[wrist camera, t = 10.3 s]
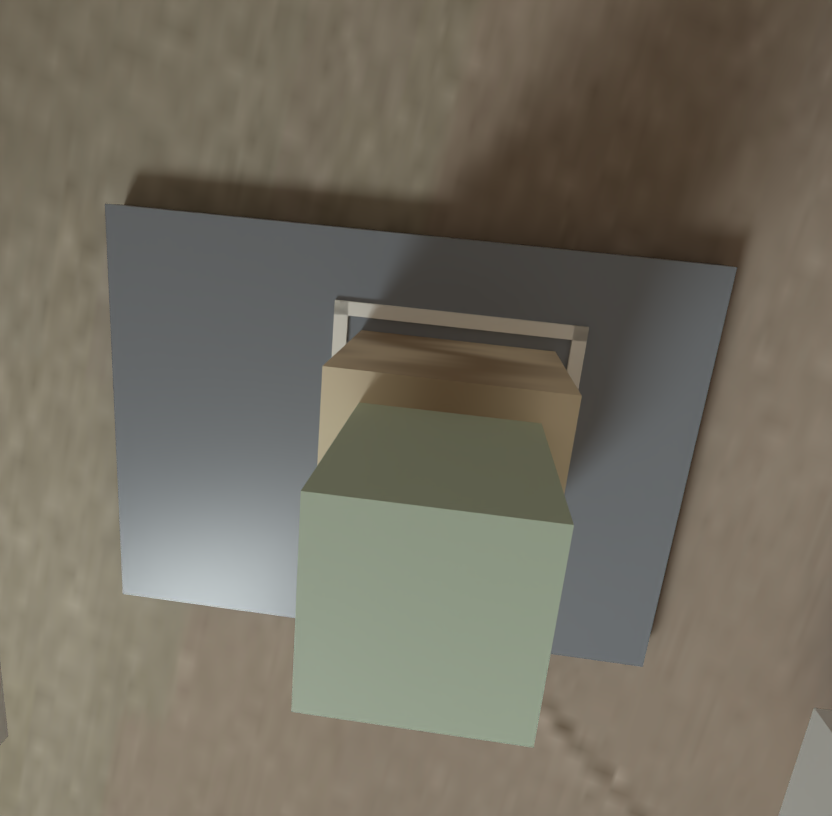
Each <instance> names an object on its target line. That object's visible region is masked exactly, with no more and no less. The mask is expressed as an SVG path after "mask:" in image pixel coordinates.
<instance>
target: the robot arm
mask: <svg viewBox="0 0 832 816" xmlns="http://www.w3.org/2000/svg"><path fill="white" fill-rule="evenodd" d="M7 737H8V731H7V721H6V712H5V702H4V693H3V683H2V674H1V664H0V745H1V744H2V742H3V741H4V740H5V739H6V738H7ZM779 816H832V710H828V709H820V708H814V709H813V712H812V715H811V718H810V721H809V724H808V727H807V730H806V733H805V736H804V740H803V743H802V746H801V749H800V752H799V755H798V758H797V761H796V764H795V767H794V770H793V773H792V776H791V779H790V782H789V785H788V788H787V791H786V794H785V797H784V800H783V803H782V806H781V809H780V813H779Z"/></svg>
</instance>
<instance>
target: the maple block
mask: <svg viewBox="0 0 832 816" xmlns="http://www.w3.org/2000/svg"><path fill="white" fill-rule="evenodd" d="M581 398H582V395H581V394H580V392H579V390H578V389H577V387H576V385H575V384H574V382H573V380H572V379H571V377H570V375H569V374H568V372H567V370H566V369H565V367H564V365H563V364H562V362H561V360H560V359H559V357H558V355H557V354H556V352H555V351H546V350H537V349H528V348H519V347H510V346H501V345H492V344H483V343H474V342H465V341H456V340H447V339H438V338H429V337H419V336H410V335H401V334H392V333H383V332H374V331H365V330H361V331H360V332H359V333H358V334H356V335H355V336H354V337H353V338H352V339H351V340H350V341H349V342H348V343H347V344H346V345H345V346H344V347H342V348H341V349H340V350H339V351H338V352H337V353H336V354H335V355H334V356H333V357H332V358H331V359H329V360H328V361H327V362H326V363H325V364H324V365H323V366H322V384H321V403H320V422H319V441H318V460H317V465H318V464H319V462H320V461H321V459H322V458H323V456H324V455H325V453H326V452H327V450H328V449H329V447H330V446H331V444H332V443H333V441H334V440H335V438H336V437H337V435H338V434H339V432H340V431H341V429H342V427H343V426H344V424H345V423H346V421H347V420H348V418H349V417H350V415H351V414H352V412H353V411H354V409H355V408H356V406H357V405H358V403H359V402H360V403H369V404H378V405H386V406H395V407H404V408H412V409H421V410H430V411H438V412H447V413H456V414H465V415H473V416H482V417H491V418H499V419H508V420H517V421H525V422H534V423H542V426H543V429H544V432H545V436H546V439H547V442H548V445H549V448H550V451H551V454H552V458H553V461H554V464H555V467H556V470H557V473H558V476H559V480H560V483H561V486H562V489H563V492H564V494H565V488H566V482H567V477H568V471H569V465H570V460H571V454H572V448H573V443H574V437H575V432H576V426H577V420H578V415H579V409H580V403H581Z"/></svg>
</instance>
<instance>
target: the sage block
mask: <svg viewBox="0 0 832 816" xmlns="http://www.w3.org/2000/svg"><path fill="white" fill-rule="evenodd" d="M573 528H574V524H573V520H572V517H571V514H570V511H569V508H568V505H567V502H566V498H565V495H564V492H563V489H562V486H561V483H560V480H559V476H558V473H557V470H556V467H555V464H554V461H553V458H552V454H551V451H550V448H549V445H548V442H547V439H546V436H545V432H544V429H543V426H542V423H534V422H525V421H517V420H508V419H499V418H491V417H482V416H473V415H465V414H456V413H447V412H438V411H430V410H421V409H412V408H404V407H395V406H386V405H378V404H369V403H360V402H359V403H358V405H357V406H356V408H355V409H354V411H353V412H352V414H351V415H350V417H349V418H348V420H347V421H346V423H345V424H344V426H343V427H342V429H341V431H340V432H339V434H338V435H337V437H336V438H335V440H334V441H333V443H332V444H331V446H330V447H329V449H328V450H327V452H326V453H325V455H324V456H323V458H322V459H321V461H320V462H319V464H318V465H317V467H316V468H315V470H314V472H313V473H312V475H311V476H310V478H309V479H308V481H307V482H306V484H305V485H304V487H303V488H302V490H301V496H300V519H299V543H298V567H297V591H296V615H295V639H294V662H293V686H292V710H291V712H296V713H303V714H309V715H316V716H323V717H330V718H337V719H343V720H350V721H357V722H364V723H371V724H377V725H384V726H391V727H398V728H404V729H411V730H418V731H425V732H432V733H438V734H445V735H452V736H459V737H465V738H472V739H479V740H486V741H493V742H499V743H506V744H513V745H520V746H527V747H533V748H534V742H535V737H536V731H537V726H538V720H539V715H540V709H541V704H542V698H543V693H544V687H545V682H546V676H547V671H548V665H549V660H550V654H551V649H552V643H553V638H554V632H555V627H556V621H557V616H558V610H559V605H560V599H561V594H562V588H563V583H564V577H565V572H566V566H567V561H568V555H569V550H570V544H571V539H572V533H573Z"/></svg>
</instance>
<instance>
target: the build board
mask: <svg viewBox="0 0 832 816" xmlns="http://www.w3.org/2000/svg"><path fill="white" fill-rule="evenodd" d="M105 216H106V238H107V259H108V281H109V303H110V324H111V346H112V368H113V389H114V411H115V432H116V454H117V476H118V497H119V519H120V541H121V562H122V584H123V594H128V595H135V596H142V597H149V598H156V599H164V600H171V601H178V602H185V603H192V604H199V605H206V606H213V607H221V608H228V609H235V610H242V611H249V612H256V613H263V614H270V615H278V616H285V617H292V618H295V615H296V591H297V567H298V543H299V519H300V496H301V490H302V488H303V487H304V485H305V484H306V482H307V481H308V479H309V478H310V476H311V475H312V473H313V472H314V470H315V468H316V467H317V460H318V441H319V422H320V403H321V384H322V366H323V365H324V364H325V363H326V362H327V361H328V360H329V359H331V358H332V357H333V356H334V355H335V354H336V353H337V352H338V351H339V350H340V349H341V348H342V347H344V346H345V345H346V344H347V343H348V342H349V341H350V340H351V339H352V338H353V337H354V336H355V335H356V334H358V333H359V332H360V331H361V330H365V331H374V332H383V333H392V334H401V335H410V336H419V337H429V338H438V339H447V340H456V341H465V342H474V343H483V344H492V345H501V346H510V347H519V348H528V349H537V350H546V351H555V352H556V354H557V355H558V357H559V359H560V360H561V362H562V364H563V365H564V367H565V369H566V370H567V372H568V374H569V375H570V377H571V379H572V380H573V382H574V384H575V385H576V387H577V389H578V390H579V392H580V394H581V395H582V398H581V403H580V409H579V415H578V420H577V426H576V432H575V437H574V443H573V448H572V454H571V460H570V465H569V471H568V477H567V482H566V488H565V494H564V495H565V498H566V502H567V505H568V508H569V511H570V514H571V517H572V520H573V524H574V528H573V533H572V539H571V544H570V550H569V555H568V561H567V566H566V572H565V577H564V583H563V588H562V594H561V599H560V605H559V610H558V616H557V621H556V627H555V632H554V638H553V643H552V649H551V654H555V655H563V656H570V657H577V658H584V659H591V660H598V661H605V662H613V663H620V664H627V665H634V666H641V667H643V663H644V658H645V654H646V650H647V646H648V642H649V637H650V633H651V629H652V625H653V620H654V616H655V612H656V608H657V604H658V599H659V595H660V591H661V587H662V582H663V578H664V574H665V570H666V566H667V561H668V557H669V553H670V549H671V544H672V540H673V536H674V532H675V528H676V523H677V519H678V515H679V511H680V506H681V502H682V498H683V494H684V490H685V485H686V481H687V477H688V473H689V468H690V464H691V460H692V456H693V452H694V447H695V443H696V439H697V435H698V430H699V426H700V422H701V418H702V414H703V409H704V405H705V401H706V397H707V392H708V388H709V384H710V380H711V376H712V371H713V367H714V363H715V359H716V354H717V350H718V346H719V342H720V338H721V333H722V329H723V325H724V321H725V316H726V312H727V308H728V304H729V300H730V295H731V291H732V287H733V283H734V278H735V274H736V270H737V267H732V266H727V265H719V264H709V263H699V262H689V261H679V260H669V259H659V258H649V257H639V256H629V255H619V254H609V253H599V252H589V251H579V250H569V249H559V248H549V247H539V246H529V245H519V244H509V243H499V242H490V241H480V240H470V239H460V238H450V237H440V236H430V235H420V234H410V233H400V232H390V231H380V230H370V229H360V228H350V227H340V226H330V225H320V224H310V223H300V222H290V221H280V220H270V219H260V218H251V217H241V216H231V215H221V214H211V213H201V212H191V211H181V210H171V209H161V208H151V207H141V206H131V205H119V204H105Z"/></svg>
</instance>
